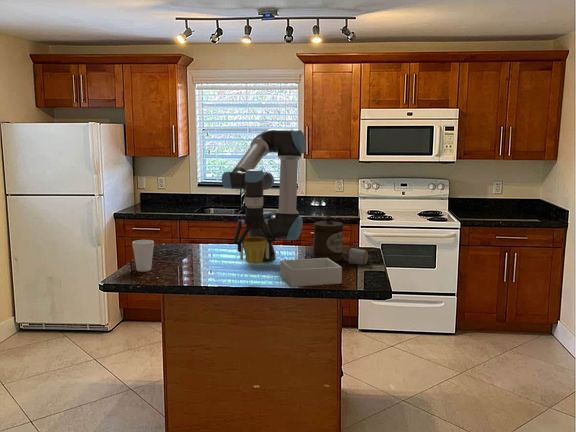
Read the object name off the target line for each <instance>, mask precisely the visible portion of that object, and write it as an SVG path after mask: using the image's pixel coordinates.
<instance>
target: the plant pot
mask: <svg viewBox="0 0 576 432" xmlns="http://www.w3.org/2000/svg"><path fill="white" fill-rule="evenodd" d="M241 244H243V252H244V254H245V260H246V263H248V264H251V265H252V264H254V265H255V264H261V263H262V262H264V261H263V257H264V252H265V248H266V247H267V239H266V238H263V237H249V236H248V237H245V238H244V240H243V242H242V243H241Z"/></svg>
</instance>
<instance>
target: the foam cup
mask: <svg viewBox="0 0 576 432" xmlns="http://www.w3.org/2000/svg"><path fill="white" fill-rule="evenodd" d="M154 247H155V242H154V240H151V239H138V240H133V241H132V249H133V250H132V251H133V257H134V261H135V267H136V272H149V271H151V270H152V265H153V264H152V263H153V255H154Z"/></svg>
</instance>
